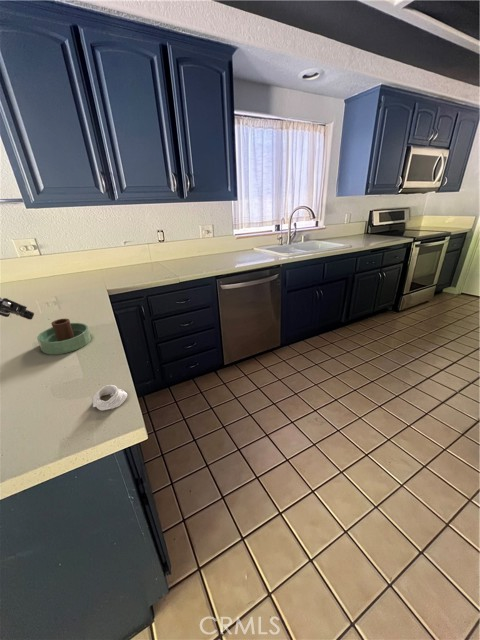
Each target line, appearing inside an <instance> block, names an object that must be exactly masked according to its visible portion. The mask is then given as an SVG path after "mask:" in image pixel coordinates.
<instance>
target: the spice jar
mask: <svg viewBox="0 0 480 640" xmlns="http://www.w3.org/2000/svg"><path fill="white" fill-rule="evenodd" d="M70 323H71V321H70V319H69V318H59V319H55V320H53V321H52V322H51V326H52V327H53V330H54V333H55V336H56V339H57V342H58V341H64V340H68V339H71V338H74V333H73V330H72V327H71V324H70Z"/></svg>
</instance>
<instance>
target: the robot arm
mask: <svg viewBox="0 0 480 640" xmlns="http://www.w3.org/2000/svg"><path fill="white" fill-rule="evenodd" d="M27 308H28V306H26V305H23V304H21V303H18V302H16V301H14V300H12V299H9V298H8V297H7V298H6V297H3V298H2V297H0V316H2V317H5V318H9V317H10V315H15V316H16V317H17V316H18V317H21V318H24V319H27V320H29V321H30V320H33V318H34V315H35V312H33V311H32V310H31V311H30V310H28V309H27Z"/></svg>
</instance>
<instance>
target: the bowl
mask: <svg viewBox="0 0 480 640" xmlns="http://www.w3.org/2000/svg"><path fill="white" fill-rule="evenodd" d="M70 324H71V327H72V330H73V333H74V338H71V339H68V340H64V341H58V342H57V339H56V336H55V333H54V330H53V327H51V326H50V327H49V328H47V329H45V330H43V331H41V332H40V333H39V334H38V335H37V337H36V339H37V342H38V345H39V348H40V350H41V352H42V353H44V354H47V355H63V354H67V353H71V352H75V351H76V350H79V349H81V348H84V347H85V346H86V345H88V344H89V343H90V342H91V340H92V337H91V333H90V330H89V326H88V325H87V324H86V323H82V322H70Z"/></svg>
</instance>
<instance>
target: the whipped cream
mask: <svg viewBox="0 0 480 640" xmlns="http://www.w3.org/2000/svg"><path fill="white" fill-rule="evenodd" d="M108 395H109V396H110V398H109V399H108V400H103V399H101V397H105V396H108ZM127 397H128V393H127V392H126V391H125V390H124V389H121V388H118V386H116V385H114V384H107V385H104V386H102V387H101V388H100V389H99V390H98V391H97V392H96V393H95V394H94V395H93V398H92V408H96V409H98V410H99V411H106V410H113V409H115V408H118V407H120V406H122V404H124V402H125V401H126V399H127Z"/></svg>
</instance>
